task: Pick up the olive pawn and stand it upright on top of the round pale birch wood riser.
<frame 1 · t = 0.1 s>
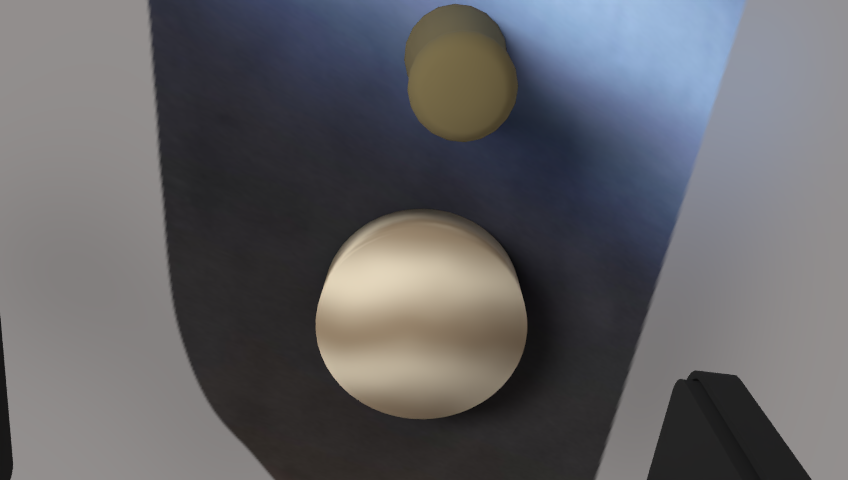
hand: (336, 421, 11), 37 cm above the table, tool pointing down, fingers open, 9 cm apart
olive pawn: (455, 57, 45), on the table
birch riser: (421, 301, 51), on the table
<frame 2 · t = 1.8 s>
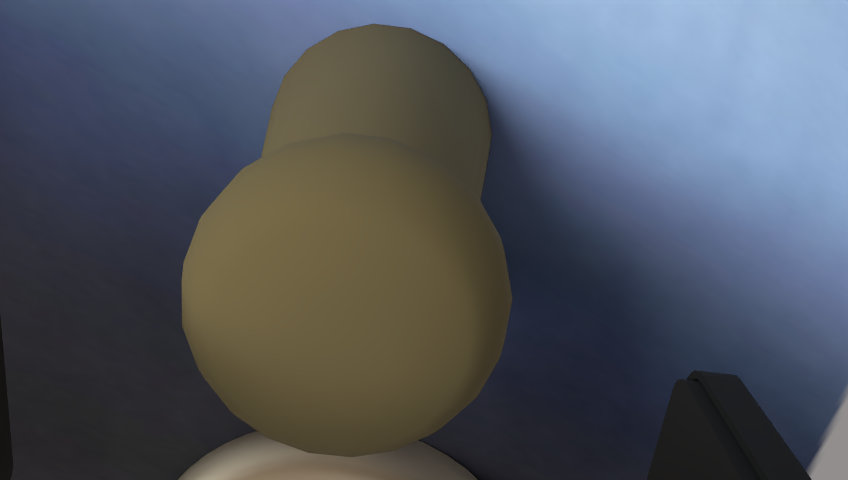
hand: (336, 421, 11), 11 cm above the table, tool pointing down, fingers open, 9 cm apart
olive pawn: (381, 136, 21), on the table
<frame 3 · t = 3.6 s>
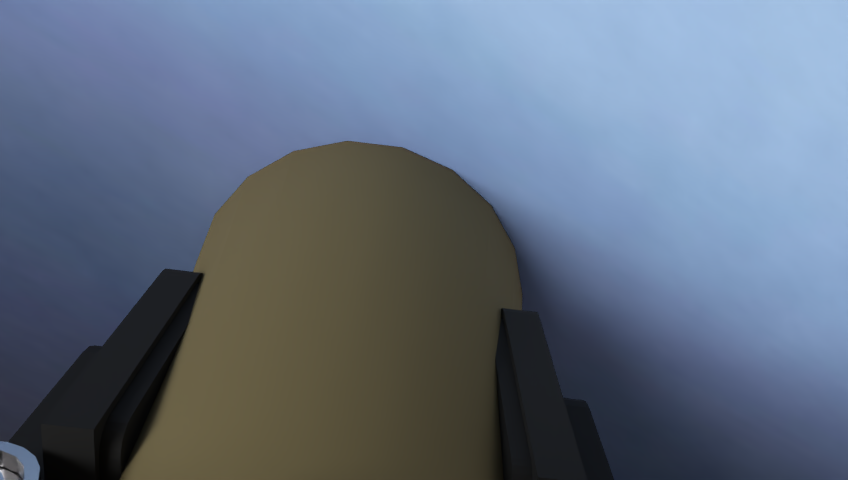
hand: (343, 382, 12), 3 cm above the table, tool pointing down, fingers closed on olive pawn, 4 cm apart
olive pawn: (360, 295, 14), on the table, touching gripper
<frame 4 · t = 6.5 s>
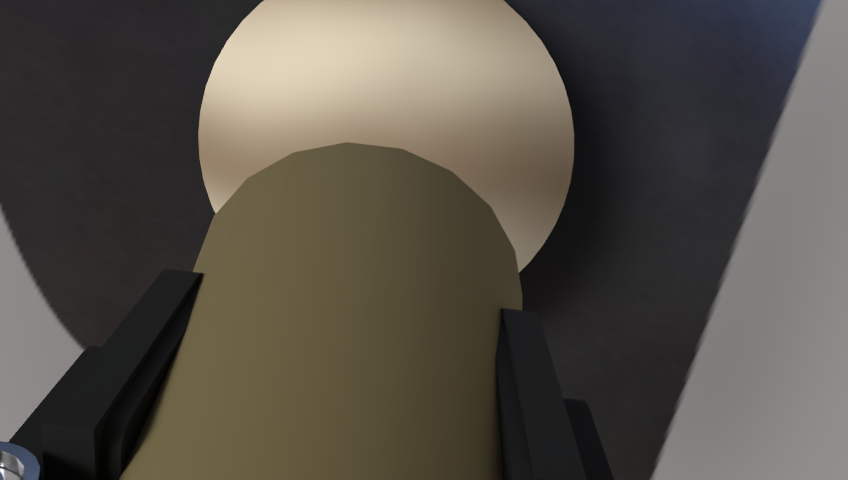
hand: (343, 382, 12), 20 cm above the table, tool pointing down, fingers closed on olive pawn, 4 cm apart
olive pawn: (359, 297, 14), point 17 cm above the table, touching gripper
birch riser: (391, 130, 30), on the table
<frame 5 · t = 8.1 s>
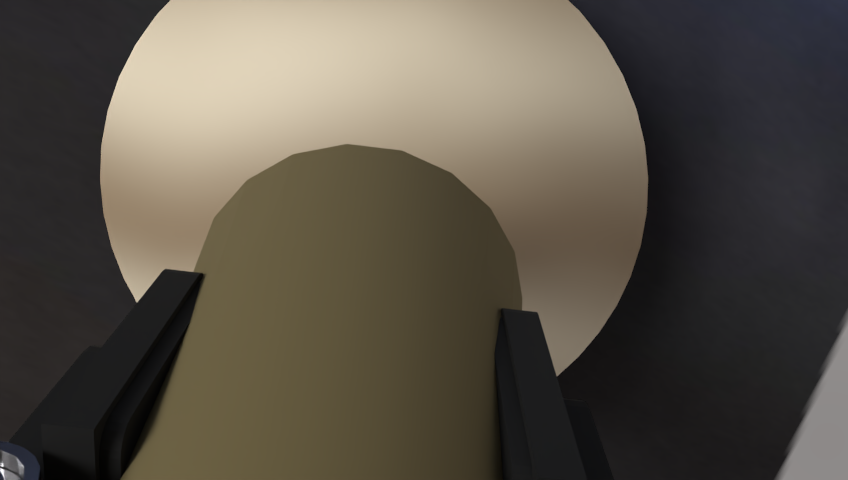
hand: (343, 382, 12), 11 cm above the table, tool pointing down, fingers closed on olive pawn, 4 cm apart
olive pawn: (359, 298, 14), point 8 cm above the table, touching gripper
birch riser: (383, 165, 22), on the table
when the fingers open (8 cm above the table, at t = 9.4 s): olive pawn drops 1 cm, resting on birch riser.
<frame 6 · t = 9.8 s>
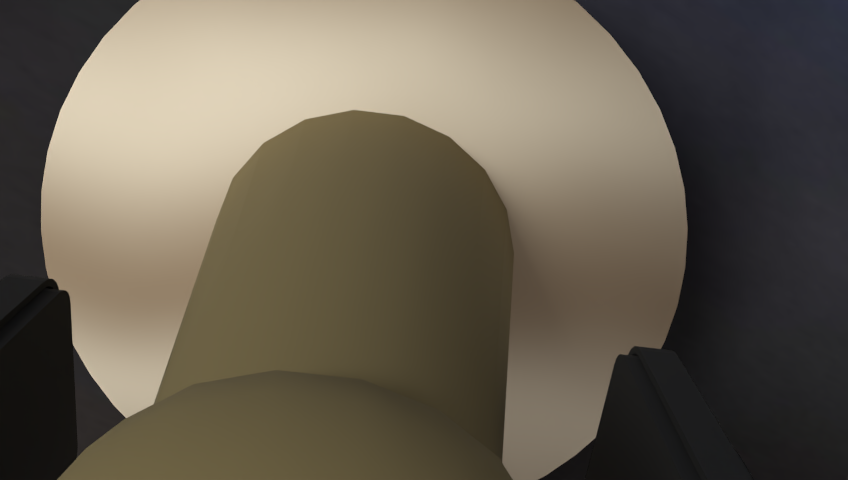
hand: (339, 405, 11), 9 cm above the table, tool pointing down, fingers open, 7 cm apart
olive pawn: (365, 254, 16), point 4 cm above the table, touching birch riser
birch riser: (377, 204, 19), on the table
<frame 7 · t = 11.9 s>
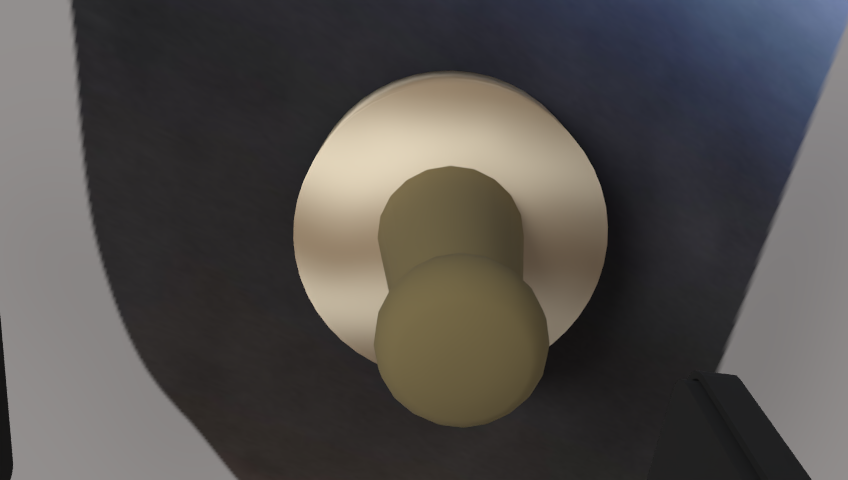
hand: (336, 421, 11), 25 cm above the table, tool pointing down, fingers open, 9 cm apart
olive pawn: (450, 235, 32), point 4 cm above the table, touching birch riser
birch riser: (447, 212, 35), on the table
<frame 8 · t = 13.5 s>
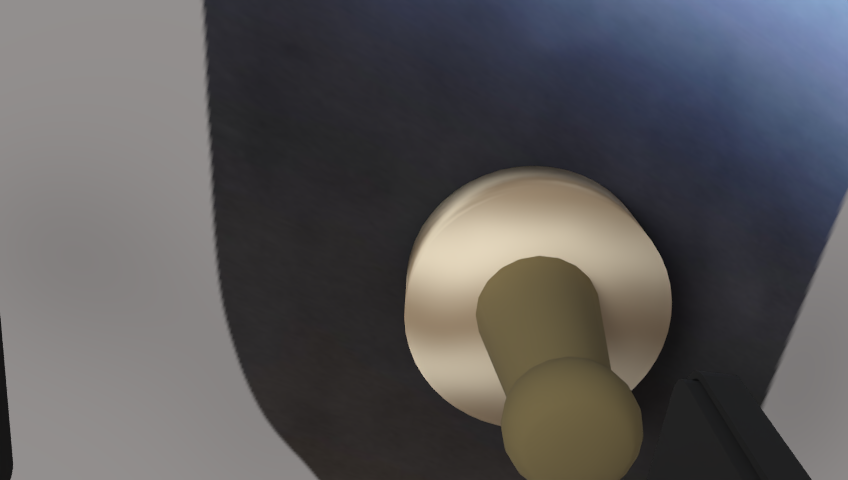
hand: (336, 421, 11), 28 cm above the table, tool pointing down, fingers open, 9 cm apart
olive pawn: (537, 311, 37), point 4 cm above the table, touching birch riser
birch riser: (527, 282, 41), on the table
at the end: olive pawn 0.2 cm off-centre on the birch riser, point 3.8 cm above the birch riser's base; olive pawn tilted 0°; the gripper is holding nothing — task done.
